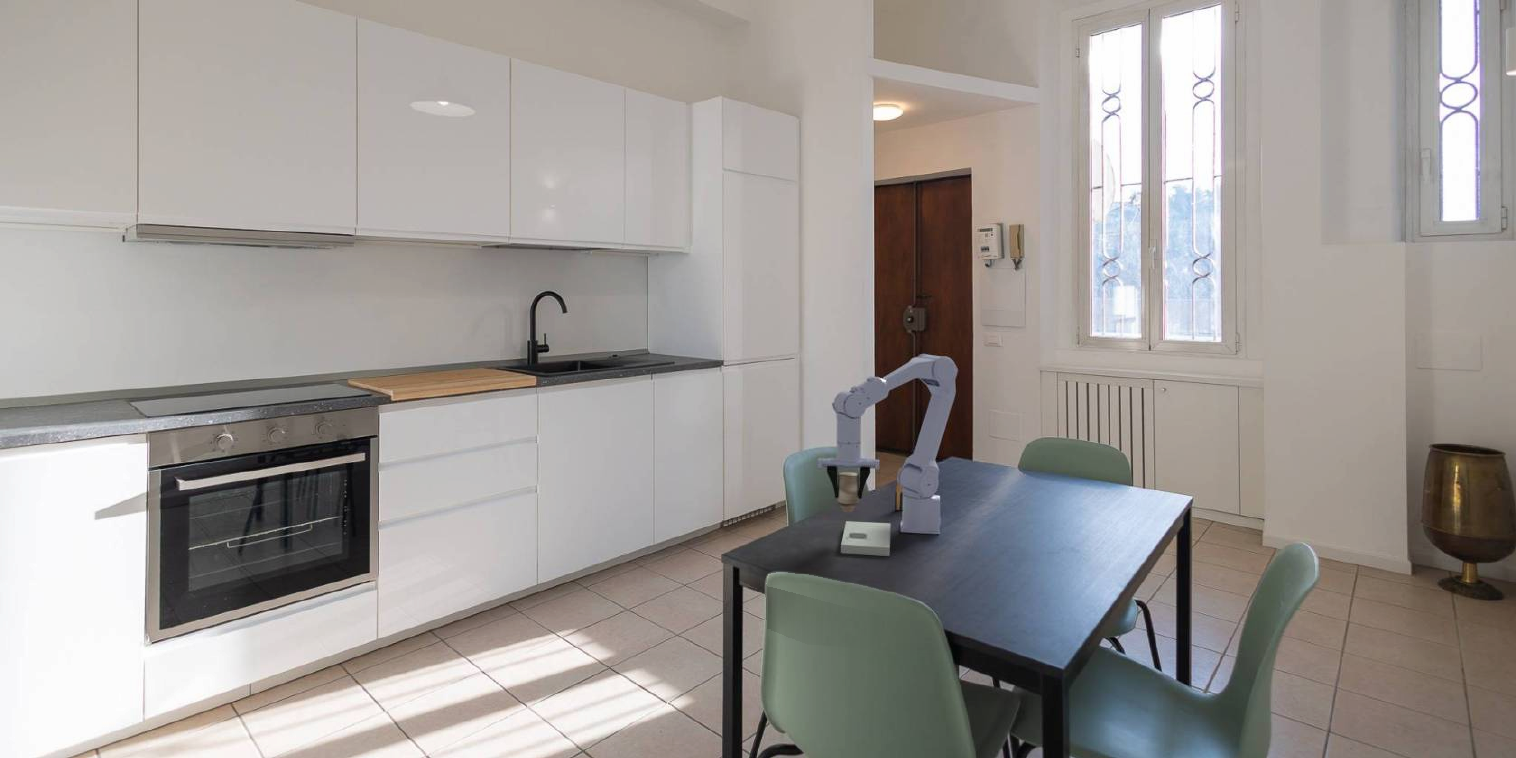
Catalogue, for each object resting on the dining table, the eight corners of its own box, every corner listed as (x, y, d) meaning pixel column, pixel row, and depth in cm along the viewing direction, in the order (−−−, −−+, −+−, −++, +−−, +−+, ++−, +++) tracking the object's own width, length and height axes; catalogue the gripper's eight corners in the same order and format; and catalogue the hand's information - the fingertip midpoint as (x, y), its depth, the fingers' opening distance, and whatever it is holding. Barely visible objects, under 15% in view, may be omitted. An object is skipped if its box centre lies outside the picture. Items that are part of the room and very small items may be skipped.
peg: (858, 507, 184) (858, 472, 183) (859, 513, 179) (859, 477, 178) (837, 507, 184) (837, 472, 183) (837, 513, 179) (838, 477, 178)
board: (890, 531, 188) (890, 523, 188) (889, 555, 171) (889, 547, 170) (846, 528, 190) (846, 521, 190) (840, 553, 173) (840, 544, 172)
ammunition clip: (900, 511, 205) (901, 468, 204) (894, 510, 206) (895, 467, 205) (920, 503, 213) (921, 461, 212) (914, 502, 214) (915, 460, 213)
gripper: (879, 439, 183) (878, 493, 184) (819, 438, 184) (819, 492, 186) (879, 444, 176) (879, 501, 177) (817, 443, 178) (817, 499, 179)
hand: (848, 497), depth 181 cm, fingers closed on peg, 5 cm apart
